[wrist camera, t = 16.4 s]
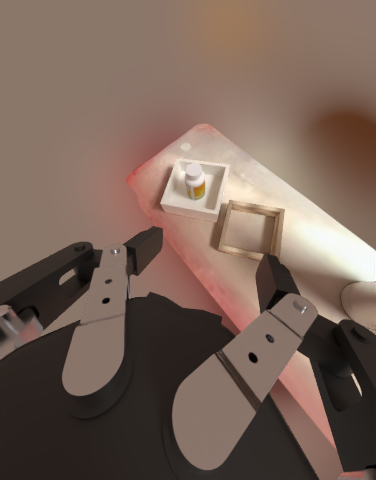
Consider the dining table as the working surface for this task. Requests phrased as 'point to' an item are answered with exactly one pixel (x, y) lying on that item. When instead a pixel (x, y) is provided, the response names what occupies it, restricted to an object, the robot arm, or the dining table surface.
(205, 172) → the bin
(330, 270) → the dining table surface
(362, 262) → the dining table surface
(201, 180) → the supplement bottle
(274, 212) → the frame
